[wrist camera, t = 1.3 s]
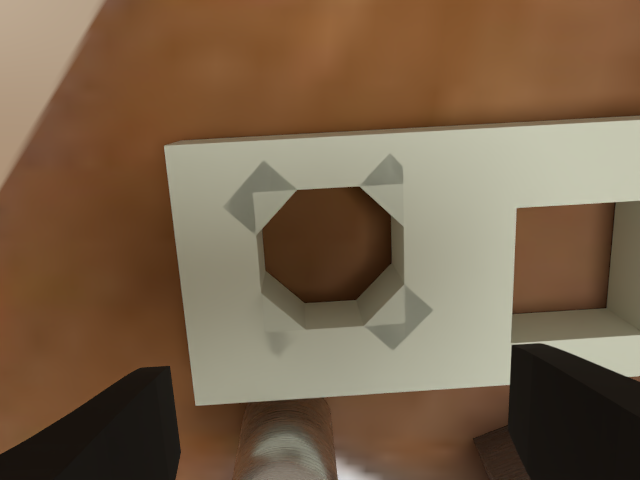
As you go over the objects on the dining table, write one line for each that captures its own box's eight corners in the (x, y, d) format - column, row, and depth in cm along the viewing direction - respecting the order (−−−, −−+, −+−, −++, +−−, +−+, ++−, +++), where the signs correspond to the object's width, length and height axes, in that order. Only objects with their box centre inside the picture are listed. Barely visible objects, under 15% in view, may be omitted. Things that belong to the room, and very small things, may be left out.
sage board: (654, 341, 22) (699, 372, 19) (207, 371, 21) (195, 405, 19) (680, 113, 19) (735, 115, 17) (181, 140, 19) (163, 145, 16)
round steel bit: (333, 456, 22) (348, 610, 16) (247, 462, 22) (224, 619, 15) (329, 378, 21) (343, 505, 15) (239, 384, 21) (212, 515, 15)
